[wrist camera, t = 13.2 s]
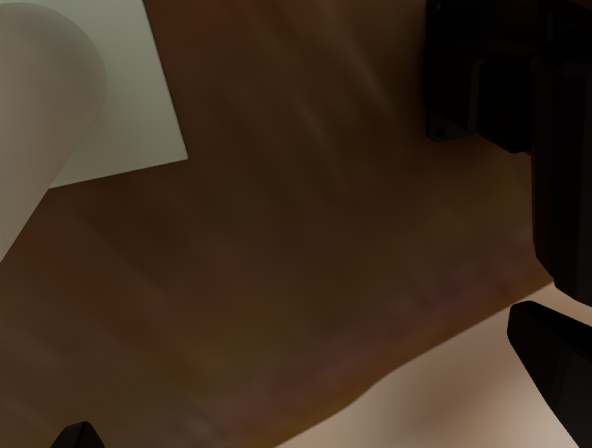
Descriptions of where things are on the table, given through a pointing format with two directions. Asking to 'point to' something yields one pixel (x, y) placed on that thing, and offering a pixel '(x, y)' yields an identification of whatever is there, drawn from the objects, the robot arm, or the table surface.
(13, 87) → the plug
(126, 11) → the mat
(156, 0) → the table surface
